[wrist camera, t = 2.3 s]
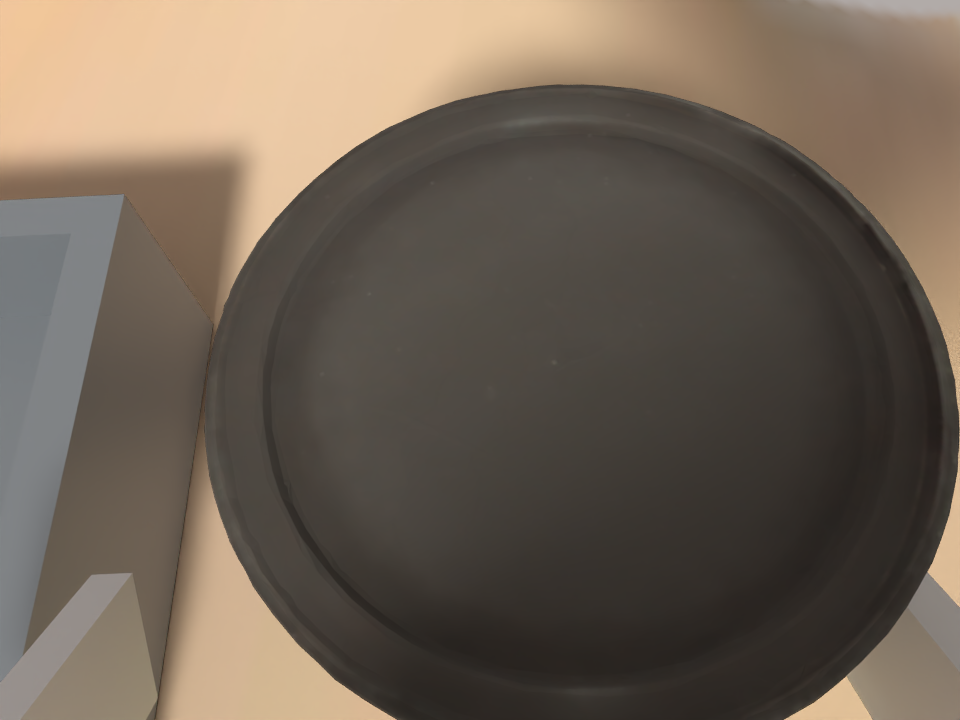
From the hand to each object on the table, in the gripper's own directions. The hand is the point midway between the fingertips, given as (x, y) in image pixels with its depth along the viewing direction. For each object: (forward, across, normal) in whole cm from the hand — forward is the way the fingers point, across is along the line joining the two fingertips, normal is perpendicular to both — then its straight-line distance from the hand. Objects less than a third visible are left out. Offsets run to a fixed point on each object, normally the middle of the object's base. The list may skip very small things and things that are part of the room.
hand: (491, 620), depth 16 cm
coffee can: (+8, +2, -4) cm, 9 cm away
